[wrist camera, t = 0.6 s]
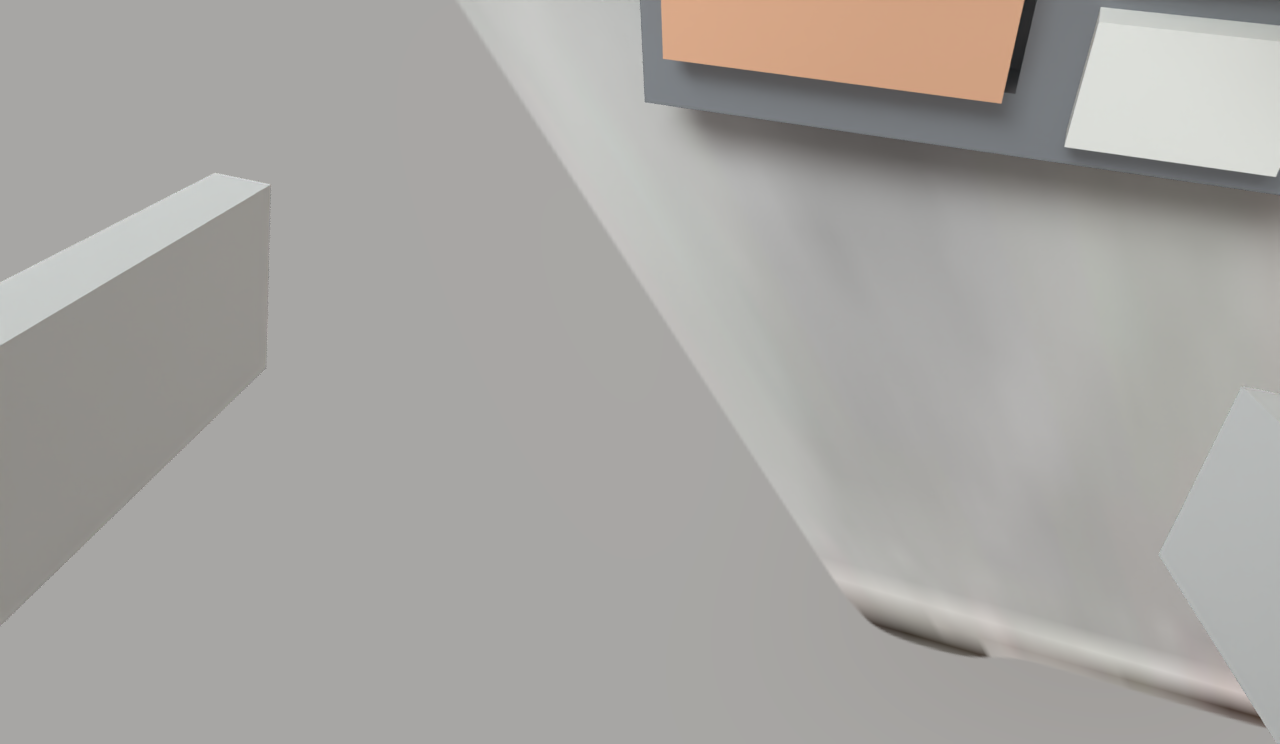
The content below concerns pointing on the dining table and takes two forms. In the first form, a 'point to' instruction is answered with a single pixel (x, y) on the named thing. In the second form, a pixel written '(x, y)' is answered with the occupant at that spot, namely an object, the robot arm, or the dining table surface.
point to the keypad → (1055, 92)
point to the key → (854, 41)
